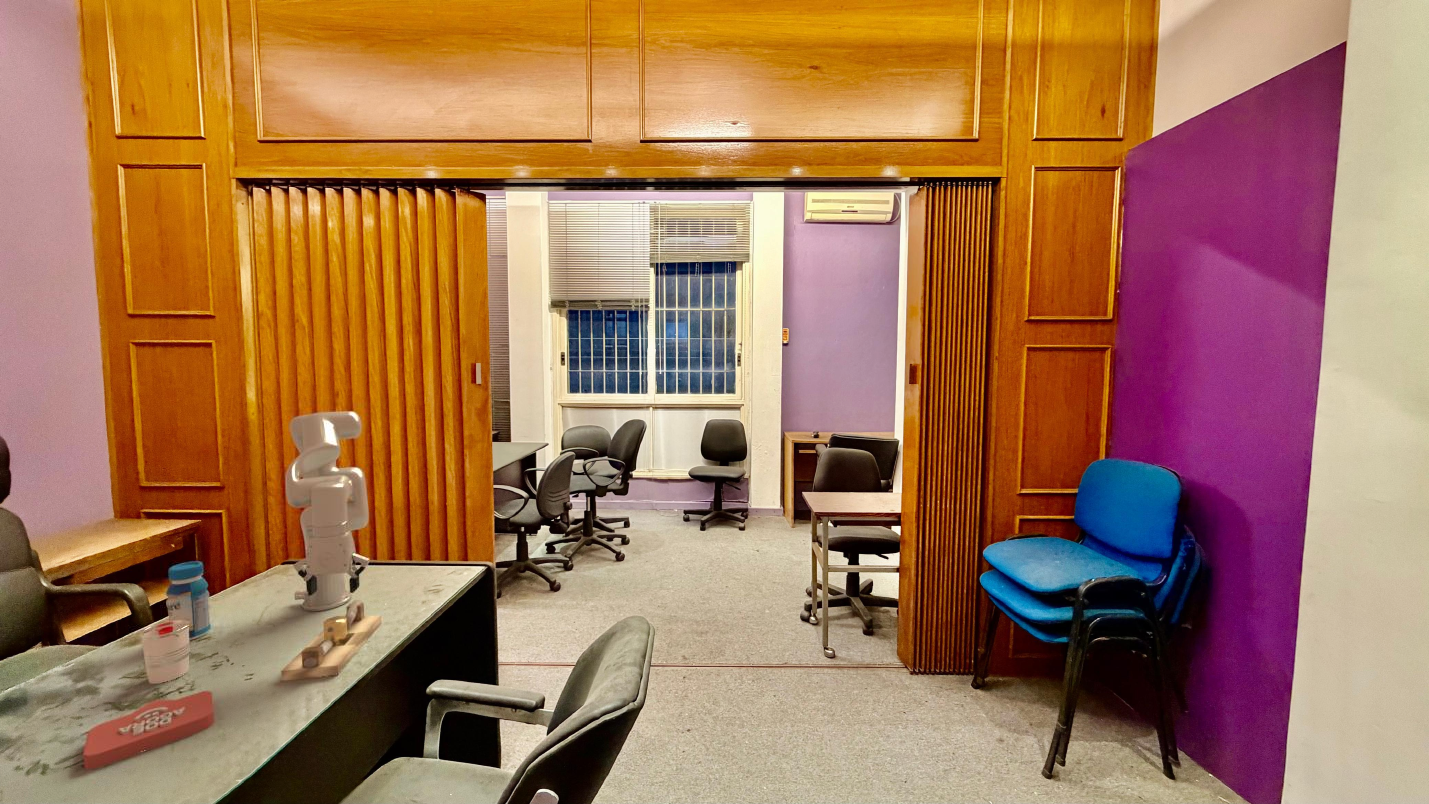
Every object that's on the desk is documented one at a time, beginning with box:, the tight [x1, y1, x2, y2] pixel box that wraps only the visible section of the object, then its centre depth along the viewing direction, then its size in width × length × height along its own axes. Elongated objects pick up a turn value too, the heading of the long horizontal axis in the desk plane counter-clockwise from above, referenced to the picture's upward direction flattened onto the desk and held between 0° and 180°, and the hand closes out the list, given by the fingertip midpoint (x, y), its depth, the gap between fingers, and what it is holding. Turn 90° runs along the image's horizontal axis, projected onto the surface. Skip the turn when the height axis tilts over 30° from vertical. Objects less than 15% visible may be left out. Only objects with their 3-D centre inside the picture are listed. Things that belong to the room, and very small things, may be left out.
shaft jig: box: [280, 599, 382, 682], centre depth 140 cm, size 12×26×8 cm, turn 12°
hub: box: [323, 615, 348, 647], centre depth 140 cm, size 5×6×8 cm
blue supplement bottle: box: [165, 560, 212, 641], centre depth 146 cm, size 8×8×20 cm
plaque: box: [82, 690, 215, 771], centre depth 109 cm, size 18×4×15 cm
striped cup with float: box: [139, 620, 190, 685], centre depth 128 cm, size 10×8×12 cm
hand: (333, 592), depth 139 cm, fingers open, 9 cm apart
